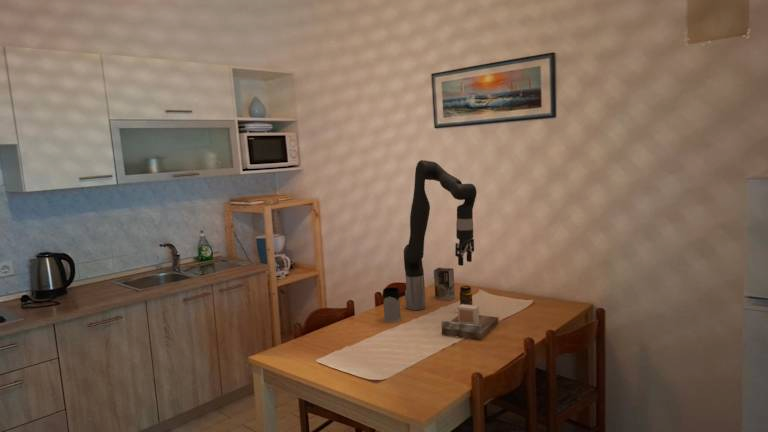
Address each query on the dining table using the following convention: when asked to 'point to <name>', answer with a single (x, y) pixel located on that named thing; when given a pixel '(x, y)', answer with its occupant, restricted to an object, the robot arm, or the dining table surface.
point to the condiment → (465, 295)
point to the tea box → (468, 314)
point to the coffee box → (444, 283)
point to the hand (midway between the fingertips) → (465, 263)
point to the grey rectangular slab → (470, 327)
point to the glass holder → (391, 305)
